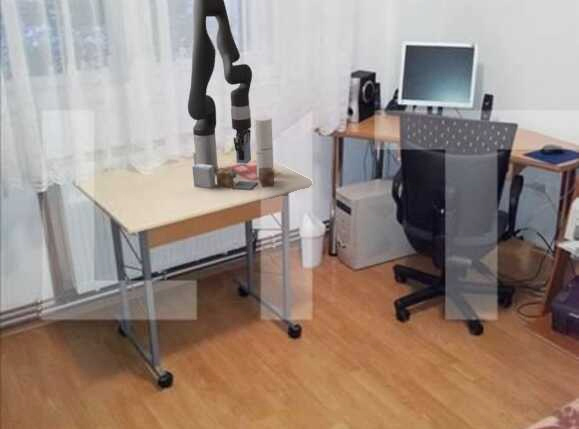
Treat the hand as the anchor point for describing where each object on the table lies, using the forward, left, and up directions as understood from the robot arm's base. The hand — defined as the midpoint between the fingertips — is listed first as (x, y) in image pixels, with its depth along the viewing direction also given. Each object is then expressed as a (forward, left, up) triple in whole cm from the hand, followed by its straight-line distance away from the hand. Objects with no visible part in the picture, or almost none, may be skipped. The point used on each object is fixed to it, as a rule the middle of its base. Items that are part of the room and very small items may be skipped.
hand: (243, 157), depth 259 cm
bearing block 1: (-9, 0, -12) cm, 15 cm away
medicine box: (-17, -3, -12) cm, 21 cm away
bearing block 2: (+8, +4, -12) cm, 15 cm away
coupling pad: (0, 0, -12) cm, 12 cm away
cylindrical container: (+4, +14, -12) cm, 19 cm away
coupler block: (0, 0, -2) cm, 2 cm away
